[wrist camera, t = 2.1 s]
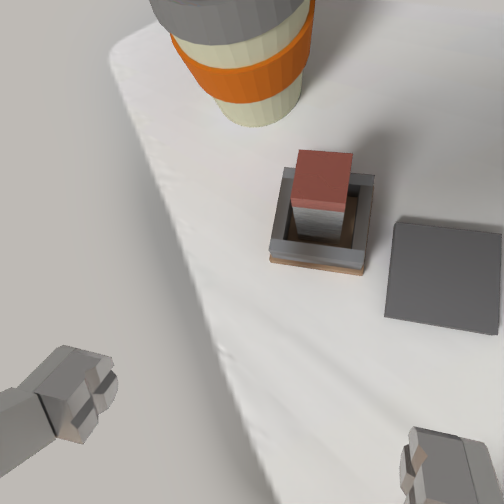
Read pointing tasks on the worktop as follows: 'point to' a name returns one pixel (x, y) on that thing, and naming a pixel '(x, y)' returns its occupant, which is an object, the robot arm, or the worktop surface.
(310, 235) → the steel peg
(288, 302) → the worktop surface
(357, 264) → the square open tray
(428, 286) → the rubber pad
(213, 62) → the reusable coffee cup
